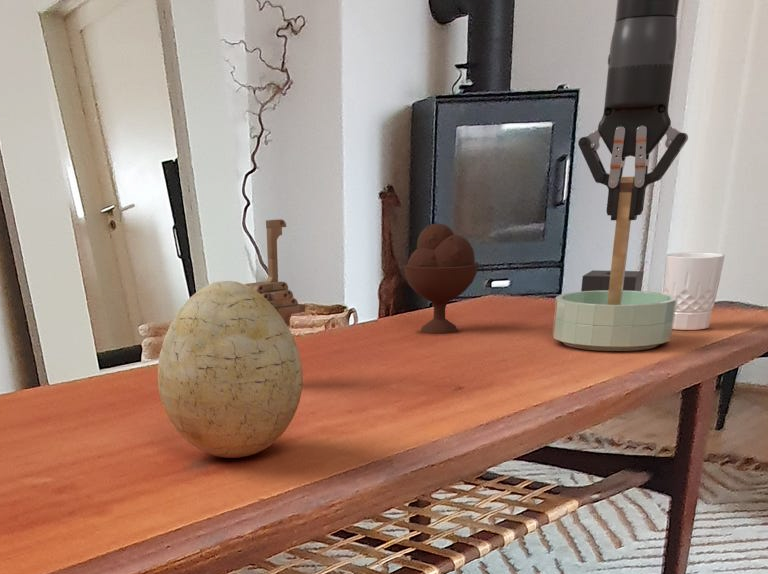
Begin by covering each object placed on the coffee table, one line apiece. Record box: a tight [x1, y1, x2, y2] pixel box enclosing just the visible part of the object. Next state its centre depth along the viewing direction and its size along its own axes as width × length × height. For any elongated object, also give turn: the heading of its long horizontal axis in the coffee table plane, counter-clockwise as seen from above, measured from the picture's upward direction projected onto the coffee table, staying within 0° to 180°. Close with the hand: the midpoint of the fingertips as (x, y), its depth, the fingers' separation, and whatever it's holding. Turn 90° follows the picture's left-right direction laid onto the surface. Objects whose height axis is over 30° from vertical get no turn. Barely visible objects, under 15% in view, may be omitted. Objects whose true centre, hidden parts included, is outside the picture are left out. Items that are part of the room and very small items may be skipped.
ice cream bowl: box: [403, 222, 480, 334], centre depth 144 cm, size 11×11×15 cm
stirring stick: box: [607, 176, 635, 305], centre depth 126 cm, size 2×2×18 cm
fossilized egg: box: [156, 280, 304, 459], centre depth 85 cm, size 13×13×15 cm
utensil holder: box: [580, 270, 644, 291], centre depth 158 cm, size 8×8×6 cm
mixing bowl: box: [551, 290, 678, 352], centre depth 132 cm, size 16×16×6 cm
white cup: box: [662, 251, 726, 331], centre depth 141 cm, size 8×8×10 cm
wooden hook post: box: [244, 218, 306, 327], centre depth 109 cm, size 17×7×18 cm, turn 132°
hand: (623, 219), depth 125 cm, fingers closed on stirring stick, 1 cm apart
